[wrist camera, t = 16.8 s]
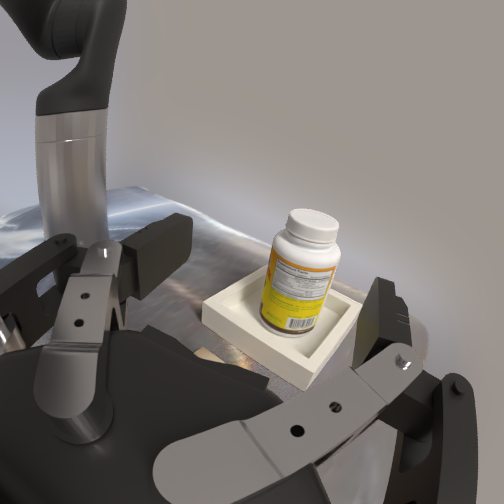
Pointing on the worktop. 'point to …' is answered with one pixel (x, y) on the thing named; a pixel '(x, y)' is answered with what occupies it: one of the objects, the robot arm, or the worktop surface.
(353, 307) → the parts tray
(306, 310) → the supplement bottle
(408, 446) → the robot arm
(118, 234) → the worktop surface
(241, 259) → the worktop surface
